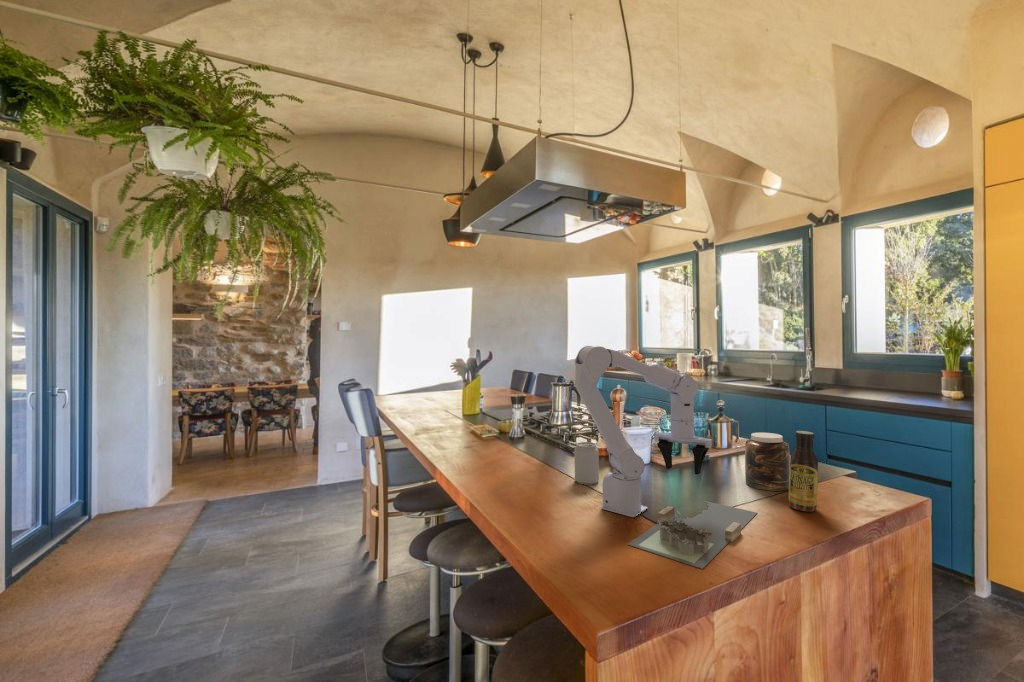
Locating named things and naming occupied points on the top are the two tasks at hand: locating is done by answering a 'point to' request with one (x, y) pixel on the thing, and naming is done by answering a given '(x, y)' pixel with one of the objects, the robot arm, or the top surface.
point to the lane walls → (730, 532)
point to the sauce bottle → (803, 474)
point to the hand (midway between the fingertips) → (682, 470)
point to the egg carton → (677, 533)
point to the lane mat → (709, 520)
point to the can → (586, 463)
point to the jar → (767, 462)
